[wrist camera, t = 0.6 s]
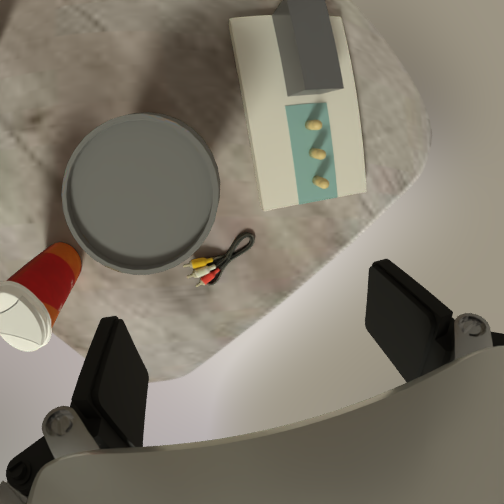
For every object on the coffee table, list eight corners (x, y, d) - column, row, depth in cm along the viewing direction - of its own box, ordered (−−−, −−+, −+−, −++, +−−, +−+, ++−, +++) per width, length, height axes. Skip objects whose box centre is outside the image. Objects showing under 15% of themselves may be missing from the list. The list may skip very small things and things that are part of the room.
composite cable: (248, 226, 38) (252, 233, 36) (263, 256, 40) (267, 264, 38) (181, 260, 38) (180, 268, 36) (198, 288, 40) (199, 297, 38)
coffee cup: (50, 290, 36) (6, 354, 22) (33, 238, 33) (-26, 290, 19) (96, 285, 37) (60, 356, 23) (81, 229, 34) (27, 284, 20)
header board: (228, 23, 27) (232, 8, 23) (334, 21, 28) (351, 9, 24) (260, 207, 37) (269, 218, 32) (359, 189, 38) (378, 197, 34)
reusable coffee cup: (94, 154, 31) (33, 171, 17) (184, 101, 30) (173, 77, 17) (143, 239, 36) (114, 302, 22) (230, 192, 36) (252, 231, 22)
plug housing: (271, 15, 26) (285, -4, 20) (305, 15, 26) (324, -3, 21) (287, 96, 30) (305, 90, 25) (321, 94, 31) (343, 88, 25)
